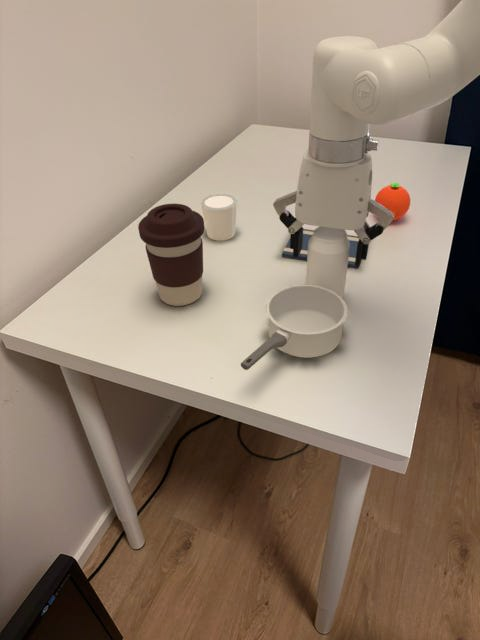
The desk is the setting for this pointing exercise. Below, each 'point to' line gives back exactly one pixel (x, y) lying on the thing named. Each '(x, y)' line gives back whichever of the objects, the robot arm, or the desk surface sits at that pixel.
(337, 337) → the saucepan
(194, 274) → the coffee cup
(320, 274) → the beverage can
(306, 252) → the towel
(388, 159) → the desk surface
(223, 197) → the white candle
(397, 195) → the clementine
